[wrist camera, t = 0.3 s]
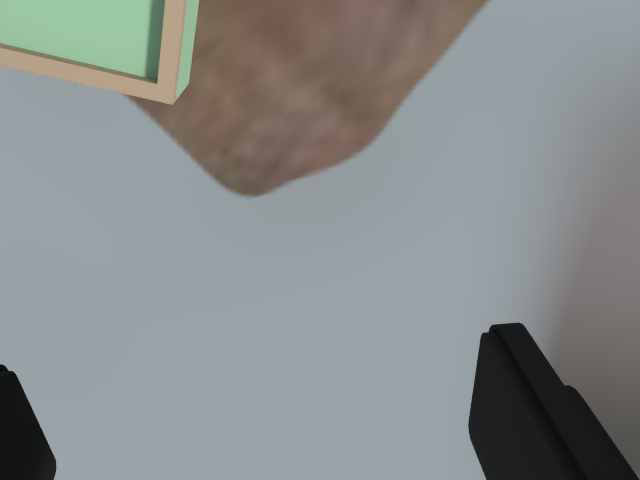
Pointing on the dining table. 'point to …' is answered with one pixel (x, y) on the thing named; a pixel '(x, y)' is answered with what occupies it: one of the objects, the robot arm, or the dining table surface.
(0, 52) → the putting tray
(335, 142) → the dining table surface
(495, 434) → the robot arm
